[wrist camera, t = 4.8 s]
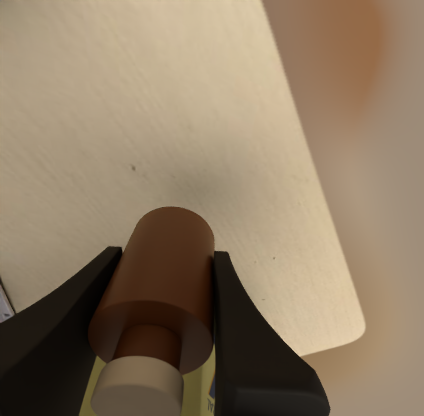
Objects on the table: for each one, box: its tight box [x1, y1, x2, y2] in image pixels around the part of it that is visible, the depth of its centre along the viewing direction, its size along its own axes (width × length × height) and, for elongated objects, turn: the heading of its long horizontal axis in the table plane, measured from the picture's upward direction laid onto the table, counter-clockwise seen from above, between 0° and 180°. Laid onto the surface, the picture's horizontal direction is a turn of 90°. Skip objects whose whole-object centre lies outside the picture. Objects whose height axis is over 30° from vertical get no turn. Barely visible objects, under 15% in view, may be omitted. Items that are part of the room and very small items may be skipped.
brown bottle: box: [88, 207, 215, 416], centre depth 11 cm, size 4×4×8 cm
